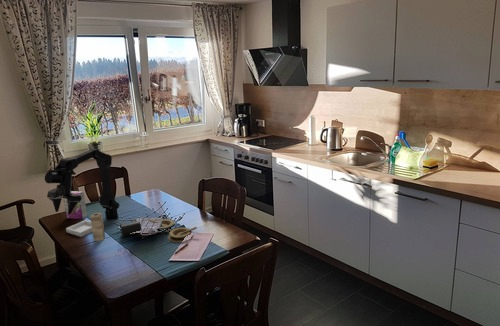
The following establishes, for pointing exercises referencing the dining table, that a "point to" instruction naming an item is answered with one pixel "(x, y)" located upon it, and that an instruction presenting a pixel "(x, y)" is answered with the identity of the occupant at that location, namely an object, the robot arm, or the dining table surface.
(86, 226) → the tray
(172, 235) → the tableware set
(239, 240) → the dining table surface
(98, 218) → the maple block
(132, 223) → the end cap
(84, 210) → the candy bar box
